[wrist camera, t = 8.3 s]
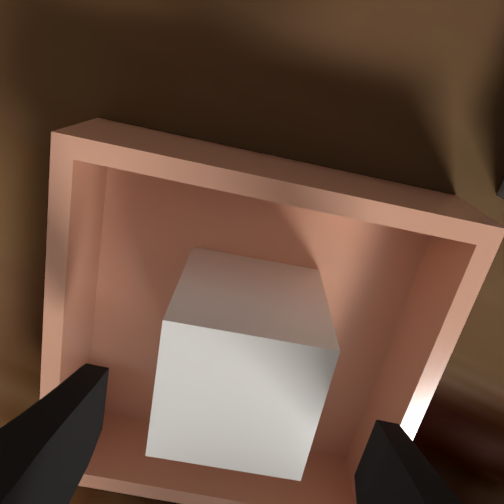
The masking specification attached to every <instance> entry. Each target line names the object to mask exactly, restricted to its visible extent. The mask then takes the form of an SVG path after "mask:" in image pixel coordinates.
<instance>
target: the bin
mask: <svg viewBox="0 0 504 504" xmlns="http://www.w3.org/2000/svg"><path fill="white" fill-rule="evenodd" d="M503 237H504V227H503V226H501V225H500V224H498V223H497V222H495V221H494V220H492V219H491V218H489V217H488V216H486V215H485V214H483V213H482V212H480V211H479V210H477V209H476V208H474V207H473V206H471V205H470V204H468V203H467V202H466V201H464V200H463V199H461V198H460V197H458V196H457V195H452V194H447V193H443V192H438V191H434V190H429V189H424V188H420V187H415V186H411V185H406V184H401V183H397V182H392V181H387V180H383V179H378V178H374V177H369V176H364V175H360V174H355V173H351V172H346V171H341V170H337V169H332V168H328V167H323V166H318V165H314V164H309V163H305V162H300V161H295V160H291V159H286V158H281V157H277V156H272V155H268V154H263V153H258V152H254V151H249V150H245V149H240V148H235V147H231V146H226V145H222V144H217V143H212V142H208V141H203V140H199V139H194V138H189V137H185V136H180V135H175V134H171V133H166V132H162V131H157V130H152V129H148V128H143V127H139V126H134V125H129V124H125V123H120V122H116V121H111V120H106V119H102V118H95V119H92V120H89V121H85V122H82V123H78V124H75V125H72V126H68V127H65V128H61V129H58V130H54V131H51V148H50V171H49V195H48V218H47V241H46V265H45V288H44V312H43V335H42V358H41V382H40V399H42V398H43V397H44V396H45V395H47V394H48V393H49V392H51V391H52V390H53V389H54V388H56V387H57V386H58V385H59V384H61V383H62V382H63V381H64V380H65V379H67V378H68V377H69V376H70V375H71V374H73V373H74V372H75V371H76V370H77V369H79V368H80V367H81V366H83V365H84V364H86V363H87V364H92V365H97V366H102V367H108V368H109V375H108V384H107V393H106V402H105V411H104V420H103V428H102V431H101V434H100V436H99V439H98V442H97V444H96V447H95V450H94V452H93V455H92V457H91V460H90V462H89V465H88V467H87V469H86V471H85V473H84V475H83V477H82V479H81V481H80V483H79V485H78V486H84V487H90V488H95V489H101V490H107V491H112V492H118V493H124V494H129V495H135V496H141V497H146V498H152V499H158V500H163V501H169V502H175V503H180V504H357V502H356V491H355V479H354V475H355V472H356V470H357V467H358V465H359V462H360V460H361V457H362V455H363V452H364V450H365V447H366V444H367V442H368V439H369V437H370V434H371V432H372V429H373V427H374V424H375V422H376V420H381V421H387V422H392V423H397V424H399V425H400V426H401V427H402V429H403V430H404V431H405V432H406V434H407V435H408V436H409V437H410V439H411V440H412V441H413V439H414V437H415V434H416V432H417V430H418V428H419V425H420V423H421V421H422V419H423V416H424V414H425V412H426V410H427V407H428V405H429V403H430V401H431V398H432V396H433V394H434V392H435V389H436V387H437V385H438V383H439V381H440V378H441V376H442V374H443V372H444V369H445V367H446V365H447V363H448V360H449V358H450V356H451V354H452V351H453V349H454V347H455V345H456V342H457V340H458V338H459V336H460V333H461V331H462V329H463V327H464V324H465V322H466V320H467V318H468V315H469V313H470V311H471V309H472V306H473V304H474V302H475V300H476V297H477V295H478V293H479V291H480V288H481V286H482V284H483V282H484V279H485V277H486V275H487V273H488V270H489V268H490V266H491V264H492V261H493V259H494V257H495V255H496V252H497V250H498V248H499V246H500V243H501V241H502V239H503ZM193 247H196V248H202V249H207V250H213V251H218V252H224V253H229V254H235V255H240V256H246V257H251V258H257V259H262V260H268V261H273V262H279V263H284V264H290V265H295V266H301V267H306V268H312V269H317V270H319V271H320V275H321V279H322V283H323V287H324V291H325V295H326V298H327V302H328V306H329V310H330V314H331V318H332V321H333V325H334V329H335V333H336V337H337V341H338V344H339V348H340V354H339V357H338V360H337V363H336V367H335V370H334V373H333V377H332V380H331V383H330V386H329V390H328V393H327V396H326V400H325V403H324V406H323V409H322V413H321V416H320V419H319V422H318V426H317V429H316V432H315V436H314V439H313V442H312V445H311V449H310V452H309V455H308V459H307V462H306V465H305V468H304V472H303V475H302V478H301V481H297V480H291V479H285V478H279V477H272V476H266V475H260V474H254V473H248V472H242V471H236V470H229V469H223V468H217V467H211V466H205V465H199V464H192V463H186V462H180V461H174V460H168V459H162V458H156V457H149V456H145V454H146V447H147V439H148V431H149V423H150V415H151V407H152V400H153V392H154V384H155V376H156V368H157V360H158V353H159V345H160V337H161V329H162V321H163V318H164V316H165V313H166V311H167V308H168V306H169V303H170V301H171V299H172V296H173V294H174V291H175V289H176V287H177V284H178V282H179V279H180V277H181V274H182V272H183V270H184V267H185V265H186V262H187V260H188V258H189V255H190V253H191V250H192V248H193Z"/></svg>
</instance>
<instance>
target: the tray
mask: <svg viewBox="0 0 504 504" xmlns="http://www.w3.org/2000/svg"><path fill="white" fill-rule="evenodd" d="M497 196H499V197H501V198H503V199H504V179H503V181H502V183H501V186H500V188H499V191H498V193H497Z"/></svg>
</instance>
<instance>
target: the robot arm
mask: <svg viewBox="0 0 504 504" xmlns="http://www.w3.org/2000/svg"><path fill="white" fill-rule="evenodd" d="M108 375H109V368H108V367H102V366H97V365H92V364H87V363H86V364H84V365H83V366H81V367H80V368H79V369H77V370H76V371H75V372H74V373H73V374H71V375H70V376H69V377H68V378H67V379H65V380H64V381H63V382H62V383H61V384H59V385H58V386H57V387H56V388H54V389H53V390H52V391H51V392H49V393H48V394H47V395H45V396H44V397H43V398H42V399H40V400H39V401H38V402H36V403H35V404H34V405H32V406H31V407H30V408H28V409H27V410H26V411H24V412H23V413H22V414H20V415H19V416H17V417H16V418H14V419H13V420H12V421H10V422H9V423H7V424H6V425H4V426H3V427H1V428H0V504H69V502H70V500H71V498H72V496H73V494H74V492H75V490H76V488H77V486H78V485H79V483H80V481H81V479H82V477H83V475H84V473H85V471H86V469H87V467H88V465H89V462H90V460H91V457H92V455H93V452H94V450H95V447H96V444H97V442H98V439H99V436H100V434H101V431H102V428H103V420H104V411H105V402H106V393H107V384H108ZM354 479H355V491H356V502H357V504H463V503H462V502H461V501H460V500H459V499H458V498H457V496H456V495H455V494H454V493H453V492H452V490H451V489H450V488H449V487H448V485H447V484H446V483H445V482H444V481H443V479H442V478H441V477H440V476H439V474H438V473H437V472H436V471H435V469H434V468H433V467H432V465H431V464H430V463H429V462H428V460H427V459H426V458H425V457H424V455H423V454H422V453H421V451H420V450H419V449H418V448H417V446H416V445H415V444H414V442H413V441H412V440H411V439H410V437H409V436H408V435H407V434H406V432H405V431H404V430H403V429H402V427H401V426H400V425H399V424H397V423H392V422H387V421H381V420H376V422H375V424H374V427H373V429H372V432H371V434H370V437H369V439H368V442H367V444H366V447H365V450H364V452H363V455H362V457H361V460H360V462H359V465H358V467H357V470H356V472H355V475H354Z"/></svg>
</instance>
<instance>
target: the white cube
mask: <svg viewBox="0 0 504 504" xmlns="http://www.w3.org/2000/svg"><path fill="white" fill-rule="evenodd" d="M339 354H340V348H339V344H338V341H337V337H336V333H335V329H334V325H333V321H332V318H331V314H330V310H329V306H328V302H327V298H326V295H325V291H324V287H323V283H322V279H321V275H320V271H319V270H317V269H312V268H306V267H301V266H295V265H290V264H284V263H279V262H273V261H268V260H262V259H257V258H251V257H246V256H240V255H235V254H229V253H224V252H218V251H213V250H207V249H202V248H196V247H193V248H192V250H191V253H190V255H189V258H188V260H187V262H186V265H185V267H184V270H183V272H182V274H181V277H180V279H179V282H178V284H177V287H176V289H175V291H174V294H173V296H172V299H171V301H170V303H169V306H168V308H167V311H166V313H165V316H164V318H163V321H162V329H161V337H160V345H159V353H158V360H157V368H156V376H155V384H154V392H153V400H152V407H151V415H150V423H149V431H148V439H147V447H146V454H145V456H149V457H156V458H162V459H168V460H174V461H180V462H186V463H192V464H199V465H205V466H211V467H217V468H223V469H229V470H236V471H242V472H248V473H254V474H260V475H266V476H272V477H279V478H285V479H291V480H297V481H301V478H302V475H303V472H304V468H305V465H306V462H307V459H308V455H309V452H310V449H311V445H312V442H313V439H314V436H315V432H316V429H317V426H318V422H319V419H320V416H321V413H322V409H323V406H324V403H325V400H326V396H327V393H328V390H329V386H330V383H331V380H332V377H333V373H334V370H335V367H336V363H337V360H338V357H339Z"/></svg>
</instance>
